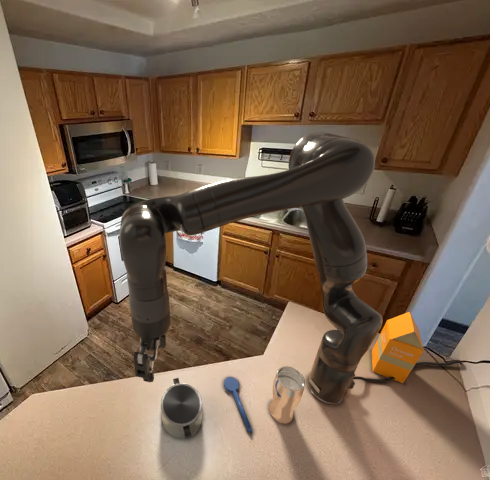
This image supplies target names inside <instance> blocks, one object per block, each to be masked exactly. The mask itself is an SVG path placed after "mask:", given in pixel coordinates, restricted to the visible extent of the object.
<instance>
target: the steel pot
mask: <svg viewBox="0 0 490 480" xmlns="http://www.w3.org/2000/svg"><path fill="white" fill-rule="evenodd" d="M172 381H173V384H172V385H170V386H169V387H168V388H167V389H166V390H165V391H164V393H163V394H162V397H161V400H160V411H161V421H162V425H163V427H164V430H166V432H167V433H168V434H169V435H170V436H172V437H174V438H176V439H189V438H192V436H194V435H195V434H196V433H197V432H198V430H199V429H200V427H201V425H202V421H203V419H202V418H203V399H202V397H201V394H200V392H199V391H198V390H197V389H196V388H195V387H194V386H193V385H190V384H188V383H185V382H184V383H183V382H180V378H179V377H176V378H173V379H172Z"/></svg>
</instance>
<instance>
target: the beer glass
mask: <svg viewBox="0 0 490 480" xmlns="http://www.w3.org/2000/svg"><path fill="white" fill-rule="evenodd" d="M305 386H306V380H305V377H304V376H303V374H302V373H301V372H300V371H299V370H298V369H296V368H295V367H292V366H289V365H285V366H284V365H283V366H281V367H279V368H278V369H277V370H276V374H275V377H274V380H273V384H272V401H271V402H270V404H269V412H270V415H271V416H272V418H273V419H274V420H275V421H277V422H278V423H280V424H289V423H291V421H292V420H293V418H294V410H295V408H297V406H298V405H299V404H300V402H301V400H302V398H303V395H304V391H305Z"/></svg>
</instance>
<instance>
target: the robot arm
mask: <svg viewBox="0 0 490 480" xmlns="http://www.w3.org/2000/svg"><path fill="white" fill-rule="evenodd" d="M287 166H288V169H286V170H283V171H279V172H274V173H269V174H263V175H262V174H261V175H255V176H254V175H253V176H247V177H245V176H244V177H236V178H229V179H223V180H219V181H215V182H211V183H209V184H205V185H203V186H200V187H197V188H194V189H191V190H187V191H186V192H183V193H180V194H176V195H175V194H174V195H167V196H159V197H154V198H148V199H145V200H142V201H139V202H136V203H134V204H132V205H131V206H129V207H128V208H127V209H125V211H124V212H123V214H122V215H121V219H120V227H119V234H118V235H119V236H118V237H119V238H118V239H119V247H120V253H121V257H122V261H123V264H124V267H125V268H124V269H125V270H126V280H127V281H126V282H127V289H128V303H129V311H130V318H131V324H132V329H133V331H134V332H135V334H136V335H137V336H138V337H139V338H140V339H139V343H140V346H139V352H138V351H135V352H134V353H133V365H134V372H135V377H137V378H141V379H142V380H143V382H147V383H153V382H154V381H155V373H154V363H155V361H156V360H157V359H158V354H159V353H158V352H159V348H160V349H161V348H162V349H165V348H166V346H167V336H166V335H167V334H168V332H167V331H168V330H169V329H170V326H171V312H170V311H171V307H170V294H169V289H168V279H167V278H168V277H167V269H166V268H167V267H166V261H167V238H166V237H167V236H166V234H167V233H173V232H178V231H179V232H182V233H183V234H184V235H187V236H196V235H200V234H203V233H206V232H209V231H211V230H214V229H215V230H216V229H217V228H221V227H224V226H227V225H229V224H234V223H235V222H239V221H242V220H246V219H251V218H253V217H257V216H262V215H266V214H267V215H268V214H271V213H276V212H282V211H286V210H292V209H297V208H301V209H302V211H303V215H304V219H305V224H306V228H307V232H308V233H307V234H308V237H309V241H310V246H311V251H312V256H313V260H314V264H315V267H316V270H317V273H318V277H319V278H318V279H319V284H320V287H321V294H322V295H321V297H322V310H323V314H324V317H325V318H326V319H327V321H328V322H329V323H330V324H331V325H332V326H333V327H334V329H331V330H327V331H326V332H325V333H323V335H322V337H321V341H320V343H319V346H318V349H317V352H316V355H315V359H314V361H313V364H312V367H311V370H310V372H309V376H308V377H307V380H306V384H307V388H308V390H309V392H310V393H311V394H312V395H313V396H314V398H316V399H317V400H318V401H320V402H321V403H323V404H327V405H331V406H332V405H333V406H334V405H338V404H340V403H342V401H343V399H344V397H345V396H346V395H347V393H348V391H349V390H352V389H354V387H355V384H356V382H355V380H359V381H360V380H362V381H364V382H371V383H373V382H374V383H386V382H390V381H395V380H394V379H395V378H394V377H389V378H388V377H384V378H369V377H368V378H367V377H363V376H356V374H355V372H356V370H357V368H358V366H359V364H360V361H361V360H362V358H363V357H364V355H365V354H366V353H368V351H369V349H370V347H371V346H372V344H373V342H374V340H375V339H376V337H377V335H378V334H379V332H380V330H382V329H381V328H382V326H383V316H382V314H381V313H379V312H378V311H377V310H376V309H374V308H373V307H372V306H370V305H369V304H368V303H366V302H365V301H364V300H363V299H362V298H360V297H359V296H357V294H356V293H355V292H354V289H353V286H352V285H354V284H356V283H357V282H358V281H361V279H362V278H363V277H364V276H365V274H366V272H367V269H368V252H367V251H368V250H367V244H366V241H365V237H364V235H363V233H362V230H361V228H360V227H359V225H358V224H357V222H356V220H355V219H354V217H353V215H352V214H351V211H350V210H349V209H348V207H347V205H346V203H345V201H344V199H346V198H348V197H350V196H352V195H355V194H357V193H358V192H359V191H360V190H361V189H363V188H364V187H365V186H366V185H367V183H368V182H369V181H370V179H371V177H372V176H373V173H374V170H375V167H376V157H375V154H374V151H373V150H372V148H371V147H369V146H368V145H367V144H365V143H364V142H362V141H360V140H358V139H354V138H350V137H346V136H343V135H338V134H334V133H329V132H311V133H308V134H306V135H304V136H303V137H301V138H299V139H298V141H297V142H296V143H295V145H294V146H293V148H292V149H291V152H290V155H289V157H288V165H287ZM148 351H149V352H153V354H150V353H148ZM460 361H461V360H460V359H455V360H454V359H453V360H451V361H448V362H432V361H431V362H430V361H417V362H416V364H415V366H414V367H416V366H438V367H444V366H445V367H446V366H451V365H454V364H460V365H462V363H461V362H460ZM459 362H460V363H459Z"/></svg>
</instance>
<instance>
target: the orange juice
mask: <svg viewBox="0 0 490 480" xmlns="http://www.w3.org/2000/svg"><path fill="white" fill-rule="evenodd" d="M424 352H425V348H424V344H423V340H422V337H421V334H420V329H419V327H418V325H417V323H416V321H415V319H414V316H413V314H412V313H411V311H408V312H405V313H402V314H400V315H397V316H394V317H392V318H389V319H386V321H385V324H384V325H383V327H382V329H381V331H380V333H379V335H378V337H377V340H376V341H375V343H374V345H373V347H372V349H371V362H372V372H373V373H376V374H378V375H381V376H383V377H385V378H389V377H394V378H395V379H394V380H393V381H397V382H399V383H401V384H404V383H405V381H406V379H407V378H408V376H409V375H410V373H411V372H412V370H413V369H414V368H415V367H416V366H415V364H416V363H417V362H419V359H420V358H421V356H422V354H423V353H424Z"/></svg>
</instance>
